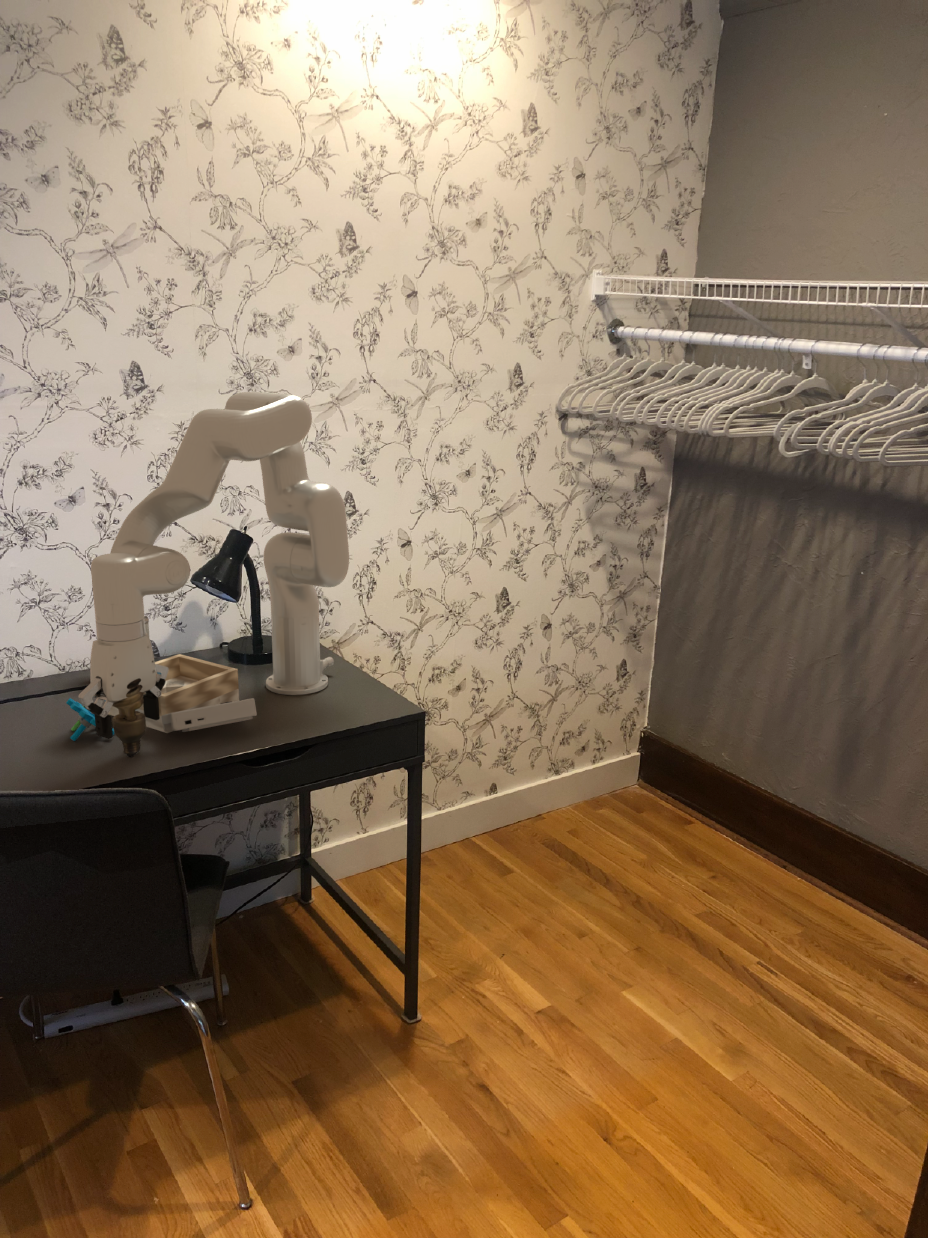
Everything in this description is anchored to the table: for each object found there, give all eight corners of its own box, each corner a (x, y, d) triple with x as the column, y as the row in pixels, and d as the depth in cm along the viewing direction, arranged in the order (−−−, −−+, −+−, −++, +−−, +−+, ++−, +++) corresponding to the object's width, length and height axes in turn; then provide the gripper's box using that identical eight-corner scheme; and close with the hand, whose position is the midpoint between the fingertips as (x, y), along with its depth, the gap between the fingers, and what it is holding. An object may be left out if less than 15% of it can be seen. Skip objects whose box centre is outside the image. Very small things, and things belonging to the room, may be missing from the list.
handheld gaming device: (258, 717, 170) (254, 696, 170) (174, 733, 163) (170, 711, 163) (244, 721, 177) (241, 700, 178) (164, 736, 170) (160, 715, 171)
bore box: (181, 686, 194) (179, 654, 192) (239, 703, 186) (237, 669, 184) (107, 714, 179) (104, 678, 177) (167, 733, 171) (164, 696, 169)
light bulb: (106, 757, 161) (99, 673, 156) (131, 746, 165) (124, 664, 161) (131, 765, 158) (124, 679, 154) (155, 753, 163) (149, 670, 159)
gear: (122, 734, 166) (74, 701, 162) (99, 762, 165) (50, 729, 160) (113, 721, 176) (67, 689, 171) (91, 747, 174) (45, 715, 170)
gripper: (147, 614, 164) (154, 707, 169) (60, 638, 150) (70, 739, 155) (178, 621, 161) (184, 716, 165) (91, 647, 147) (100, 750, 151)
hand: (129, 727), depth 160 cm, fingers open, 9 cm apart
